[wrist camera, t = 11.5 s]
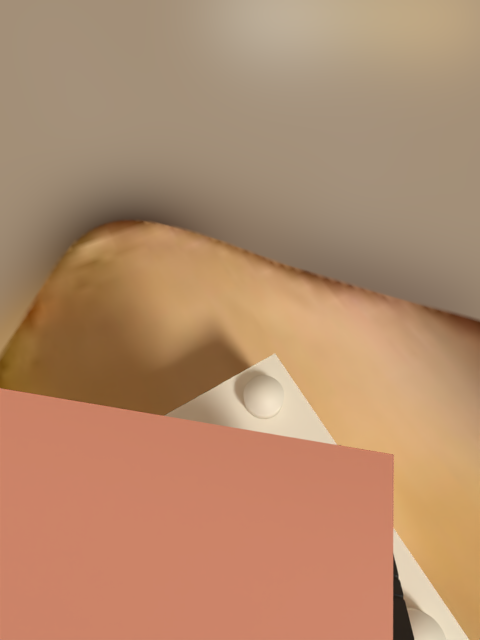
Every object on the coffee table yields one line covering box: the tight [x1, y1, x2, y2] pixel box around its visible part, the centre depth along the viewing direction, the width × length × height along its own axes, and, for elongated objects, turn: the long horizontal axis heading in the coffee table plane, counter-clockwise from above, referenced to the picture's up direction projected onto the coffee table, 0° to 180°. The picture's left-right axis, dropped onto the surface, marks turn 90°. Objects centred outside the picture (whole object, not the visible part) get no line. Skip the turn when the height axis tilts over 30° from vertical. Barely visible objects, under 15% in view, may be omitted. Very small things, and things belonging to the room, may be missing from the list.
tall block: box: [0, 388, 394, 640], centre depth 8 cm, size 5×5×10 cm
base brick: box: [164, 354, 469, 640], centre depth 16 cm, size 12×12×6 cm
